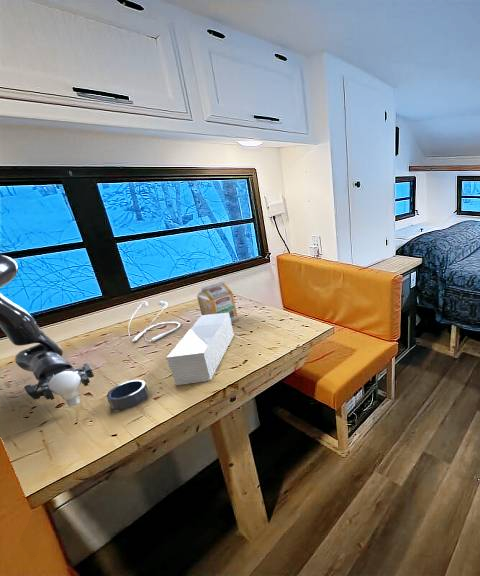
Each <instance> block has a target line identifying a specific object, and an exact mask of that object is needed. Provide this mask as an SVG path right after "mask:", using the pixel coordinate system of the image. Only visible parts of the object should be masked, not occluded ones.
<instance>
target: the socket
mask: <svg viewBox="0 0 480 576" xmlns="http://www.w3.org/2000/svg"><path fill="white" fill-rule="evenodd" d="M149 395H150V392H149V388H148V386H147V383H146V381H145V380H143V379H132V380H128V381H125V382H123V383H120V384H118V385H116V386H114V387H113V388H112V389H110V390H109V391H108V392H107V394H106V399H107V401H108V404H109V406H110V408H111V410H113V411H116V412H117V411H118V412H119V411H126V410H129V409H132V408H134V407H137V406H138V405H140V404H142V403H143V402H144V401H145V400H147V399H148V397H150V396H149Z"/></svg>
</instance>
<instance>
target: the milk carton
mask: <svg viewBox="0 0 480 576" xmlns="http://www.w3.org/2000/svg"><path fill="white" fill-rule="evenodd" d="M196 298H197V302H198V306H199V309H200V314H201V315H209V314H219V313H229V315H230V319H231V324H233V323H236V322H238V321H239V317H238V312H237V308H236V303H235V298H234V293H233V292H232V290H231V288H229V287H228V286H227V285H226V284H225V281H224V280H221V281H219V282H215V283H212V284H209V285H205V286H202V287H200V291H199V292H198V293H197V295H196Z"/></svg>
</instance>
